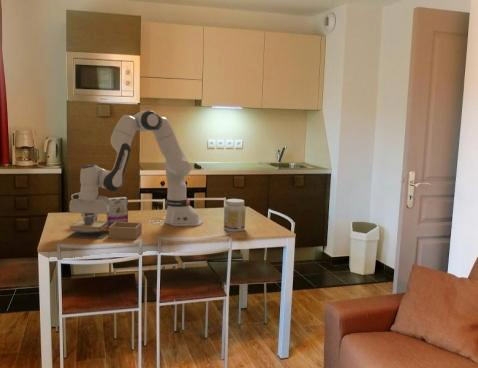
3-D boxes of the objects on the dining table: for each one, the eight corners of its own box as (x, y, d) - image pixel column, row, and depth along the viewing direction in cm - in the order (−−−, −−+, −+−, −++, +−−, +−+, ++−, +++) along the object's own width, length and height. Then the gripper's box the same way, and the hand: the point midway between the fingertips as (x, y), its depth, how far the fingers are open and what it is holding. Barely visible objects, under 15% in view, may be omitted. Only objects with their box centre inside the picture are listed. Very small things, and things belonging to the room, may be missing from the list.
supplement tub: (237, 226, 287) (238, 197, 284) (249, 230, 277) (250, 201, 274) (219, 228, 280) (220, 199, 278) (230, 233, 270) (231, 203, 268)
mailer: (141, 233, 263) (141, 222, 262) (135, 239, 251) (135, 228, 250) (115, 232, 263) (115, 221, 262) (108, 238, 251) (108, 226, 250)
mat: (111, 231, 265) (111, 230, 265) (101, 239, 250) (101, 238, 249) (78, 229, 266) (78, 229, 266) (67, 237, 250) (67, 236, 250)
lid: (107, 225, 263) (107, 214, 262) (99, 231, 250) (99, 219, 249) (79, 223, 264) (79, 212, 263) (70, 229, 251) (69, 218, 250)
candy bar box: (125, 224, 281) (125, 196, 278) (128, 226, 277) (128, 198, 274) (106, 226, 276) (105, 197, 273) (108, 228, 271) (107, 199, 269)
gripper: (110, 195, 257) (110, 220, 259) (72, 193, 258) (72, 219, 260) (107, 197, 251) (107, 223, 253) (67, 195, 252) (68, 221, 254)
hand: (89, 221), depth 257 cm, fingers closed on lid, 3 cm apart
